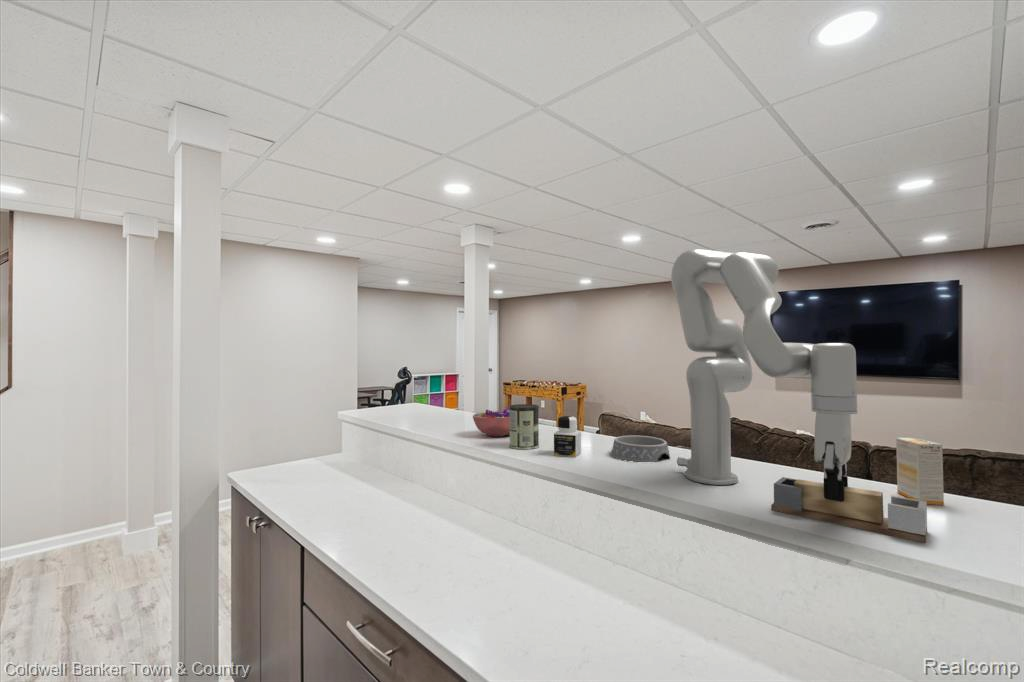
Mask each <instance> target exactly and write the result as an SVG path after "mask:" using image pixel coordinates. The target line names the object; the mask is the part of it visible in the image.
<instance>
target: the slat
mask: <svg viewBox="0 0 1024 682" xmlns="http://www.w3.org/2000/svg"><path fill="white" fill-rule="evenodd" d="M794 486H796V487H802V488H803V509H807V510H812V511H817V512H823V513H828V514H833V515H838V516H844V517H849V518H854V519H859V520H865V521H870V522H875V523H881V524H882V521H883V519H884V518H885V517H884V516H885V515H884V495H883V494H884V492H883V491H876V490H871V489H863V488H859V487H858V488H857V487H851V486H848V487H845V486H844V501H843V502H840V501H834V500H828V499H825V498H824V482H817V481H812V480H811V481H810V480H805V479H799V478H798V479H797V481H795V482H794Z"/></svg>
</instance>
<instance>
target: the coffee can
mask: <svg viewBox="0 0 1024 682" xmlns="http://www.w3.org/2000/svg"><path fill="white" fill-rule="evenodd" d="M508 407H509V408H510V435H509V448H511V449H513V450H514V449H515V450H521V449H522V450H523V451H524V450H525V451H527V450H534V449H538V448H539V446H540V445H539V442H540V441H539V436H540V435H539V419H540V418H539V408H540V406H539V405H537V404H531V403H530V404H529V403H528V404H525V403H523V404H511V405H509V406H508Z"/></svg>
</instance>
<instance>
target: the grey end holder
mask: <svg viewBox="0 0 1024 682" xmlns="http://www.w3.org/2000/svg"><path fill="white" fill-rule="evenodd" d="M797 480H798V479H796V478H790V477H784V476H782V477H781V478H779V479H778V480H777V481H776V482H774V483H773V503H774V506H779V507H784V508H789V509H793V510H798V511H802V510H803V488H802V487H796V486H794V482H795V481H797Z"/></svg>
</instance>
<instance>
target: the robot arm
mask: <svg viewBox="0 0 1024 682" xmlns="http://www.w3.org/2000/svg"><path fill="white" fill-rule="evenodd" d="M671 268H672V269H671V274H670V275H671V277H670V279H671V287H672V290H673V293H674V296H675V298H676V302H677V305H678V310H679V314H680V316H679V317H680V321H681V325H682V331H683V336H684V341H685V343H686V346H687V348H688V349H689V350H690V351H692V352H695V353H704V354H706V353H711V354H712V353H714V354H715V356H702V357H698V358H696V359H694V360H692V361H691V362H690V363H689V364H688V366H687V369H686V376H685V377H686V383H687V387H688V394H689V402H690V457H689V458H686V457H677V459H676V463H677V466H678V467H686V470H685V471H684V477H685V478H687V479H688V480H690V481H693V482H696V483H701V484H706V485H715V486H727V485H733V484H737V483H738V481H739V477H738V475H737V474H735V473H734V472H732V448H731V446H732V442H731V440H732V439H731V436H732V435H731V427H732V426H731V424H732V423H731V407H730V405H729V402H728V399H727V397H726V394H725V393H736V392H742V391H744V390H746V389H747V388H748V387H749V386H750V385H751V383H752V380H753V379H752V378H753V367H752V364H751V359H750V357H752V359H753V362H754V363H755V364H756V365H757V367H758V368H759V369H760V371H761V372H762V373H764V374H765V375H766V376H768V377H771V378H774V379H791V378H792V379H793V378H794V379H801V378H803V379H804V378H810V398H811V399H810V400H811V401H810V402H811V412H813V413H815V422H814V451H813V452H814V454H813V456H814V457H813V458H814V459H813V460H814V461H815V462H816V463H820V462H821V461H823V483H824V498H825V499H828V500H834V501H840V502H843V501H844V486H845V487H849V484H848V483H849V478H848V476H847V474H848V471H847V469H848V468H847V462H849V460H850V459H851V456H852V419H851V417H852V416H851V415H857V414H858V394H857V393H858V392H857V390H858V389H857V386H858V385H857V354H856V353H857V351H856V348H855V347H854V345H853V344H851V343H848V342H847V343H846V342H822V343H806V342H783V341H782V340H781V338H780V336H779V335H778V334H777V332H776V331H775V328H774V326H773V324H772V321H771V315H772V314H774V313H775V312H777V310H778V309H780V307H781V306H782V302H783V300H782V297H781V295H780V294H779V292H778V291H777V289H776V288H775V286H774V284H775V283H776V281H777V279H778V277H779V267H778V264H777V262H776V261H775V259H774V258H772V257H770V256H768V255H766V254H762V253H761V254H760V253H752V252H744V251H741V252H727V251H721V250H719V251H718V250H712V249H711V250H710V249H703V248H695V249H694V248H692V249H689V250H686V251H684V252H682V253H680V255H678V256H677V258H676V259H675V261H674V263H673V265H672V267H671ZM703 283H711V284H721V285H722V284H724V285H725V286H726V287H727V289H728V291H729V293H730V294H731V296H732V298H733V299H734V301H735V302H736V305H737V306H738V307H739V309H740V311H741V312H742V315H743V323H742V327H741V326H740V325H739V323H738V322H737V321H736V320H733V319H731V318H727V317H719V316H718V317H717V316H716V313H715V309H714V304H713V301H712V298H711V296H710V294H709V292H708V291H707V290H706V288H705V287H704V285H703ZM750 355H751V356H750Z"/></svg>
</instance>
